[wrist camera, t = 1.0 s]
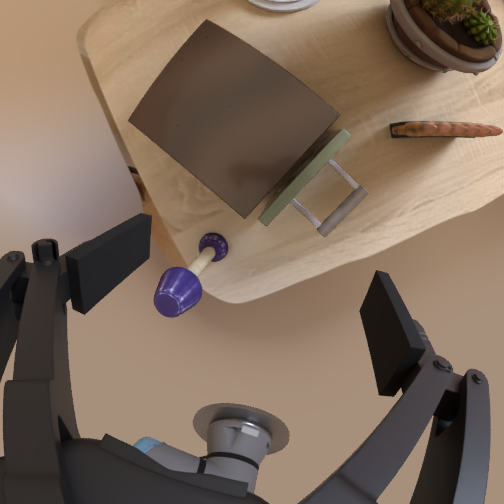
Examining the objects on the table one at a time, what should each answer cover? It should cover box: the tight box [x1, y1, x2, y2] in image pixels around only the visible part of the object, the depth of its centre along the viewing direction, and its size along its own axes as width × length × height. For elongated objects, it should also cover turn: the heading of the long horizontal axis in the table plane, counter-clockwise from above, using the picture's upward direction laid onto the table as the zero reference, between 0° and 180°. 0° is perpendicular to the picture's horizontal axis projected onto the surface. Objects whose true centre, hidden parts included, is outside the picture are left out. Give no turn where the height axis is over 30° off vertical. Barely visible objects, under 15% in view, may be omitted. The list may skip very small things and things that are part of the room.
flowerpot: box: [385, 0, 502, 75], centre depth 15 cm, size 14×15×20 cm
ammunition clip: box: [390, 121, 503, 138], centre depth 24 cm, size 11×2×12 cm, turn 101°
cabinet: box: [128, 19, 340, 219], centre depth 29 cm, size 17×14×10 cm
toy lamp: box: [154, 233, 228, 318], centre depth 33 cm, size 5×5×17 cm
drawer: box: [258, 128, 368, 237], centre depth 30 cm, size 22×13×8 cm, turn 50°
